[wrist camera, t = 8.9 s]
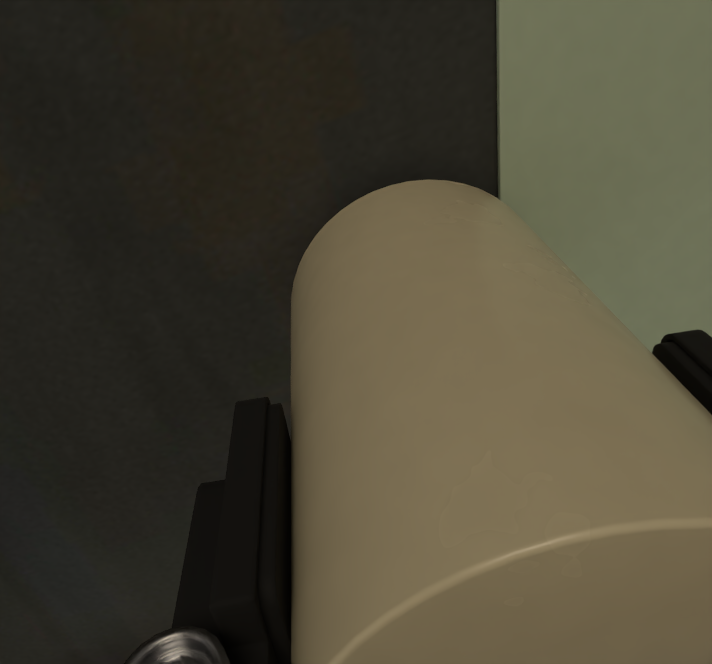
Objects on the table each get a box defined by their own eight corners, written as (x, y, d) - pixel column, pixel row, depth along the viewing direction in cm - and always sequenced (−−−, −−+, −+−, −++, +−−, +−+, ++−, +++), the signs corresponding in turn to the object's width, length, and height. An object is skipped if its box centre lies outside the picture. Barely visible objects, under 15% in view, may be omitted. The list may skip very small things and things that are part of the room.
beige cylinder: (267, 201, 13) (225, 593, 5) (548, 158, 14) (995, 467, 5) (313, 423, 17) (337, 892, 8) (539, 387, 17) (799, 812, 8)
